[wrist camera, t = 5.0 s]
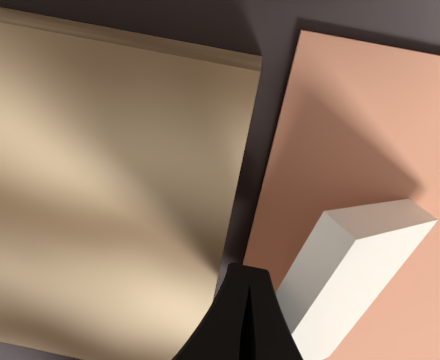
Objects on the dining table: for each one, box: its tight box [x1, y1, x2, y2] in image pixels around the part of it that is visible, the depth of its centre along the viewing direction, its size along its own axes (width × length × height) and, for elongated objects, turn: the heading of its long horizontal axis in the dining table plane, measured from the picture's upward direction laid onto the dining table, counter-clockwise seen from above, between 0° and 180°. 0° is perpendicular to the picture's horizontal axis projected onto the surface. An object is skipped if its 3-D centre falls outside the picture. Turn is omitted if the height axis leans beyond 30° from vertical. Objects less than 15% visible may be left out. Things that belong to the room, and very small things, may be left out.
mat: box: [242, 30, 440, 360], centre depth 15 cm, size 16×11×1 cm
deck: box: [0, 7, 262, 360], centre depth 14 cm, size 14×10×2 cm
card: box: [275, 199, 438, 360], centre depth 13 cm, size 8×5×1 cm
